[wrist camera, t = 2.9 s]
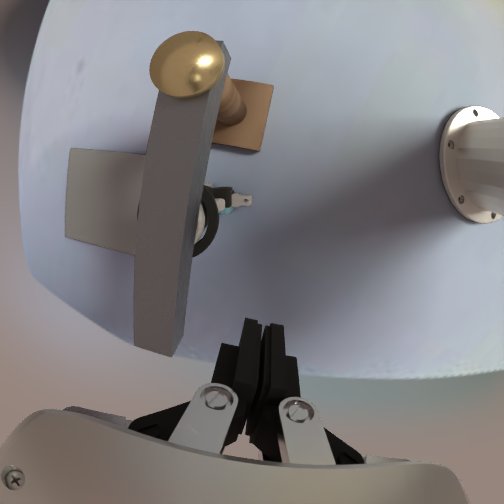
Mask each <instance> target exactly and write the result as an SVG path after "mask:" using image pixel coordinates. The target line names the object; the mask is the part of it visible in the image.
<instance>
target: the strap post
mask: <svg viewBox="0 0 504 504" xmlns="http://www.w3.org/2000/svg"><path fill="white" fill-rule="evenodd" d="M273 88H274V87H273V85H269V84H264V83H258V82H252V81H245V80H238V79H230V77H229V75H228V73H227V76H226V81H225V85H224V89H223V93H222V98H221V102H220V106H219V111H218V115H217V120H216V125H215V129H214V134H213V139H212V143H217V144H223V145H229V146H235V147H240V148H246V149H251V150H256V151H260V148H261V144H262V139H263V134H264V130H265V125H266V120H267V116H268V111H269V107H270V102H271V97H272V93H273Z"/></svg>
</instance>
